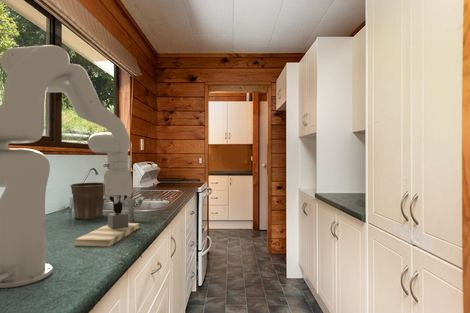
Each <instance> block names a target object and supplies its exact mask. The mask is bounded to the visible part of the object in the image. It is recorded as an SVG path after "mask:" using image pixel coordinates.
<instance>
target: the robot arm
mask: <svg viewBox="0 0 470 313" xmlns="http://www.w3.org/2000/svg"><path fill="white" fill-rule="evenodd" d="M0 66H1V68H2V69H3V71H4V72H5V74H6V78H5V82H4V88H3V96H2V103H1V105H0V188H4V190H3V191H2V192H3V193H2V194H1V196H0V288H1V289H2V288H4V289H5V288H6V289H7V288H8V289H9V288H14V287H15V288H16V287H21V286H26V285H30V284H33V283H37V282H39V281H41V280H44V279H45V278H47V277H49V276H50V275H51V274H52V273H53V265H51V264H50V263H46V195H47V194H46V192H47V191H46V190H47V185H48V181H49V176H50V171H51V170H50V169H51V165H50V161H49V159H48V158H47V156H46V155H45V154H44V153H42V152H40V151H39V150H35V149H31V148H9V144H31V143H36V142H38V141H40V139H41V138H42V137H43V135H44V131H45V120H46V118H45V115H46V113H45V112H46V98H47V93H64V94H65V96H66V98H67V99H68V101H69V103H70V105H71V106H72V109H73V111H74V112H75V115H76V116H77V117H79V118H80V119H82V120H85V121H88V122H89V123H90V122H91V123H92V124H95V125H98V126H100V127H102V128H104V129H105V130H107V131H108V132H97V133H94V134H91V135H90V137H89V138H88V141H87V145H88V148H89V149H90V150H91V151H92V152H93V153H96V154H106V155H107V157H106V158H107V161H106V163H103V168H106V169H105V172H104V176H103V178H104V179H103V183H104V184H103V193H104V196H103V198H104V200H109V201H110V202H112V205H113V207H112V208H113V209H112V211H113V212H114V213H116V214H118V213H121V212H123V207H122V203H123V202H124V200H125V199H126V198H130V197H132V195H133V191H134V190H133V178H132V172H131V169H129V149H130V147H131V139H130V136H129V133H128V131H127V128H126V126H125V124H124V122H123V120H121V119H120V118H119V117H118V116H117V115H116V114H114V112H112V111H111V110H109V109H108V108H107V107H105V106H104V105H103V104H102V102H101V100H100V98H99V96H98V93H97V92H96V89H95V87H94V84H93V83H92V80H91V78H90V76H89V74H88V72H87V69H85V68H84V67H83V66H82V65H80V64H78V63H77V64H76V63H70V55H69V53H68V51H67V50H66V49H64V48H63V47H61V46H58V45H54V44H46V45H45V44H43V45H31V46H21V47H20V46H18V47H11V48H7V49H6V50H5V51H3V52H2V54H1V55H0ZM117 196H118V197H117Z"/></svg>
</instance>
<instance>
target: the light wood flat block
mask: <svg viewBox="0 0 470 313" xmlns="http://www.w3.org/2000/svg"><path fill="white" fill-rule="evenodd" d="M136 229H137V230H138V229H140V223H139V222H138V223H137V222H128V227H122V228H116V229H112V228H110V227H108V223H107V224H105V225H104V226H100V227H98V228H96V229H94V230H92V231H90V232H88V233H86V234H84V235H82V236H79V237H77V238H75V239H74V246H76V247H77V246H82V247H83V246H85V247H87V246H89V247H111V246H112V245H114V244H115V243H117V242H119V241H120V240H122V239H124V238H125V237H127V236H129V235H130V234H132V233H134V232H135V231H137V230H136ZM133 231H134V232H133Z"/></svg>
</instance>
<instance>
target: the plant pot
mask: <svg viewBox="0 0 470 313" xmlns="http://www.w3.org/2000/svg"><path fill="white" fill-rule="evenodd" d="M103 184H104V182H79V183H71V184H70V185H69V187H70V189H71V194H72V202H73V212H74V218H75V219H76V220H77V219H78V220H85V221H86V220H94V219H97V218H102V217H103V215H104V204H105V203H104V202H105V199H104V198H103V196H104V193H103Z"/></svg>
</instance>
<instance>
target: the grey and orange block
mask: <svg viewBox="0 0 470 313" xmlns="http://www.w3.org/2000/svg"><path fill="white" fill-rule="evenodd" d="M128 223H129V213H128V212H125V211H121V213H118V214H116V213H115V212H108V213H107V224H108V227H110V228H112V229H116V228H122V227H128Z"/></svg>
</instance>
